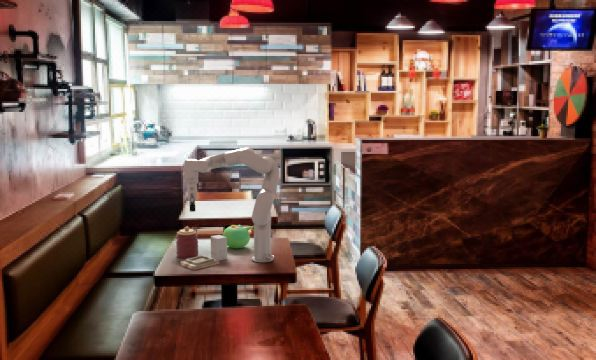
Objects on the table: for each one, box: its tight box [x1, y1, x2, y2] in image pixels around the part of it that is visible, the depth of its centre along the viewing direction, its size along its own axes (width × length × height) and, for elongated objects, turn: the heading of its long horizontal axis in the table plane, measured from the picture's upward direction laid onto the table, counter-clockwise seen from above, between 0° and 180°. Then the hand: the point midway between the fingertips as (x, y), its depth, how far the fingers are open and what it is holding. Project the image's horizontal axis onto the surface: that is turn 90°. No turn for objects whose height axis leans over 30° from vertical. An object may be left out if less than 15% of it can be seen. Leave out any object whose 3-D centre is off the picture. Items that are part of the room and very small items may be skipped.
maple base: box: [180, 254, 220, 271], centre depth 362 cm, size 13×17×3 cm
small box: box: [210, 234, 228, 261], centre depth 374 cm, size 8×6×13 cm
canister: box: [175, 226, 199, 259], centre depth 379 cm, size 13×13×18 cm
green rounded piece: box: [221, 224, 254, 249], centre depth 398 cm, size 18×17×15 cm
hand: (192, 209), depth 371 cm, fingers open, 9 cm apart
